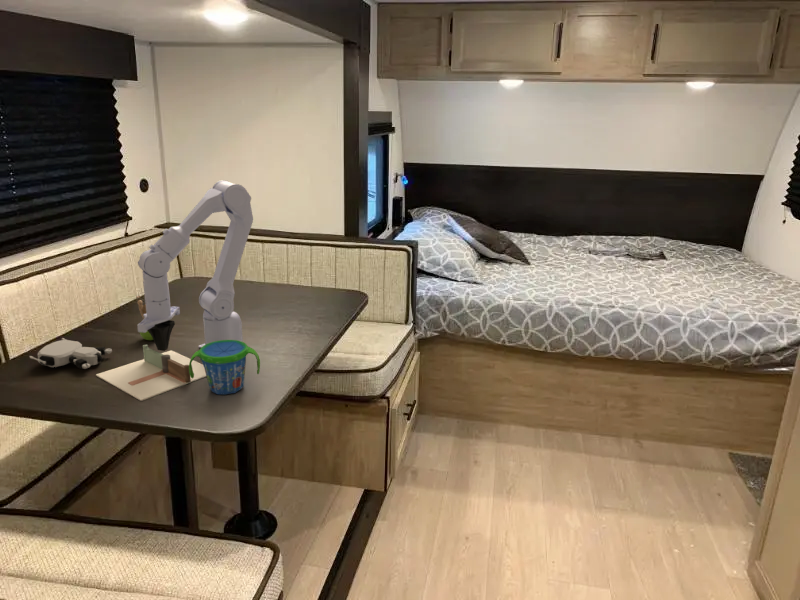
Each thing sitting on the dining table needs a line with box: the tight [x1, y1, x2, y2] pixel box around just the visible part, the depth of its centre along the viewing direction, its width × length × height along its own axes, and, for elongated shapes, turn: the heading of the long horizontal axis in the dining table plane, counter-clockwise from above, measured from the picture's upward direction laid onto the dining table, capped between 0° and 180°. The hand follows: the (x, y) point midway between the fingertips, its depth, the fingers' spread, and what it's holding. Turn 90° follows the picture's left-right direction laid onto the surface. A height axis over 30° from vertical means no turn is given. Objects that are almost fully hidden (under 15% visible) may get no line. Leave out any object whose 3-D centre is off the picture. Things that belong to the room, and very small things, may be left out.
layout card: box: [95, 350, 207, 402], centre depth 148 cm, size 20×20×1 cm
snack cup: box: [189, 340, 261, 396], centre depth 140 cm, size 16×10×10 cm
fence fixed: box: [161, 355, 192, 384], centre depth 146 cm, size 2×10×4 cm, turn 52°
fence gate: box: [142, 344, 163, 369], centre depth 151 cm, size 1×8×4 cm, turn 52°
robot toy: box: [29, 337, 113, 370], centre depth 152 cm, size 12×4×15 cm
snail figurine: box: [136, 295, 154, 341], centre depth 167 cm, size 5×6×12 cm
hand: (162, 349), depth 156 cm, fingers closed
